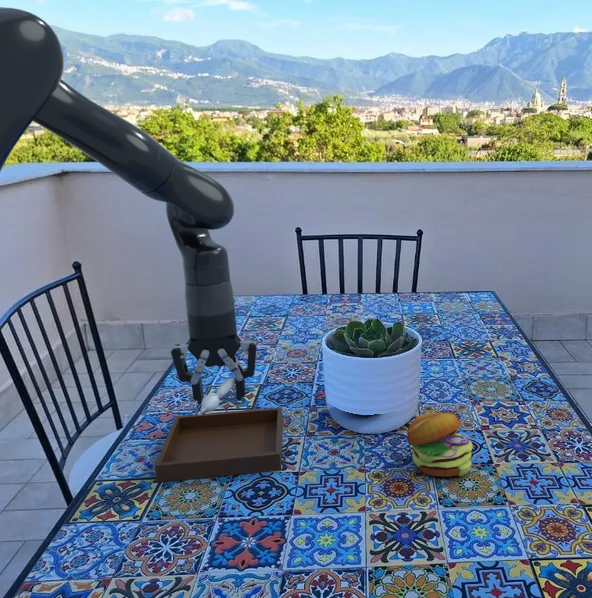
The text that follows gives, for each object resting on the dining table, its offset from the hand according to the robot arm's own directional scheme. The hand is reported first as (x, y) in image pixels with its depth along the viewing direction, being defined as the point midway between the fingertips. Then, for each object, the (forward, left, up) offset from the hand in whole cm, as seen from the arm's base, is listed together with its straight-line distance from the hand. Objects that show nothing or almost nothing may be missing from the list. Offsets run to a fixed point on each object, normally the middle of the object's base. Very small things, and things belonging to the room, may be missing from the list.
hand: (220, 400), depth 97 cm
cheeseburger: (+36, -11, -10) cm, 39 cm away
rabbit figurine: (0, 0, -2) cm, 2 cm away
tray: (0, 0, -10) cm, 10 cm away
